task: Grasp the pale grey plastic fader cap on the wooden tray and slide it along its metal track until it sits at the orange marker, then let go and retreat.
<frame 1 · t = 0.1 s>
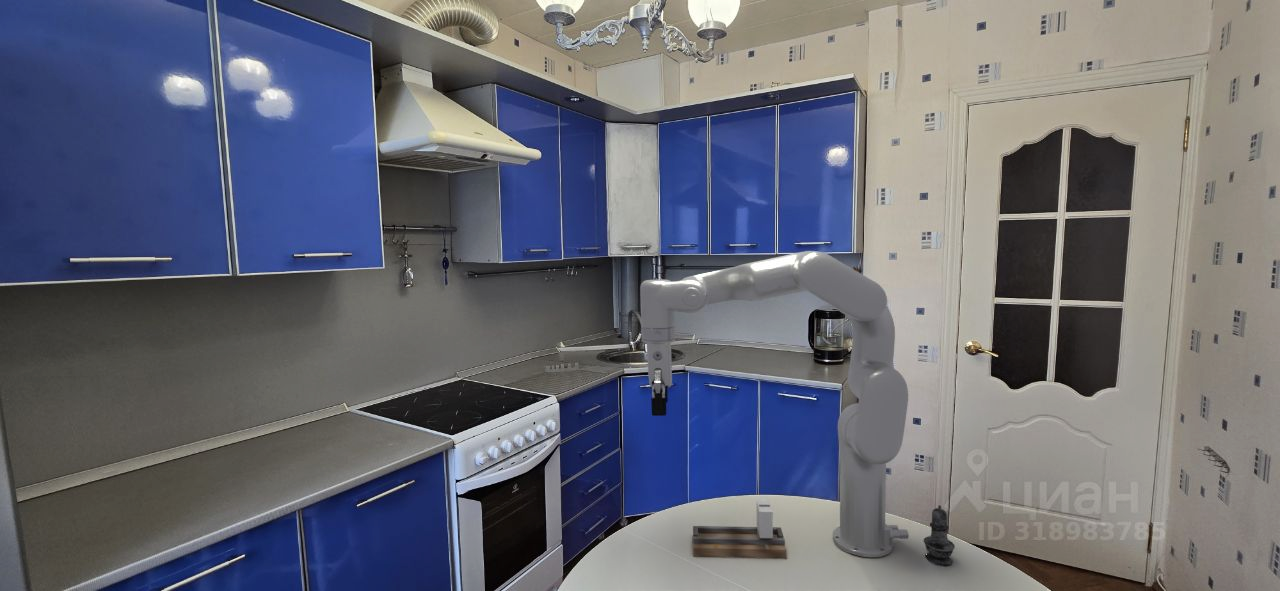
hand: (660, 408, 127), 31 cm above the table, fingers open, 9 cm apart
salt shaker: (938, 560, 118), on the table
wooden tray: (737, 546, 126), on the table
fader: (764, 521, 125), point 6 cm above the table, slide at 0.0 cm
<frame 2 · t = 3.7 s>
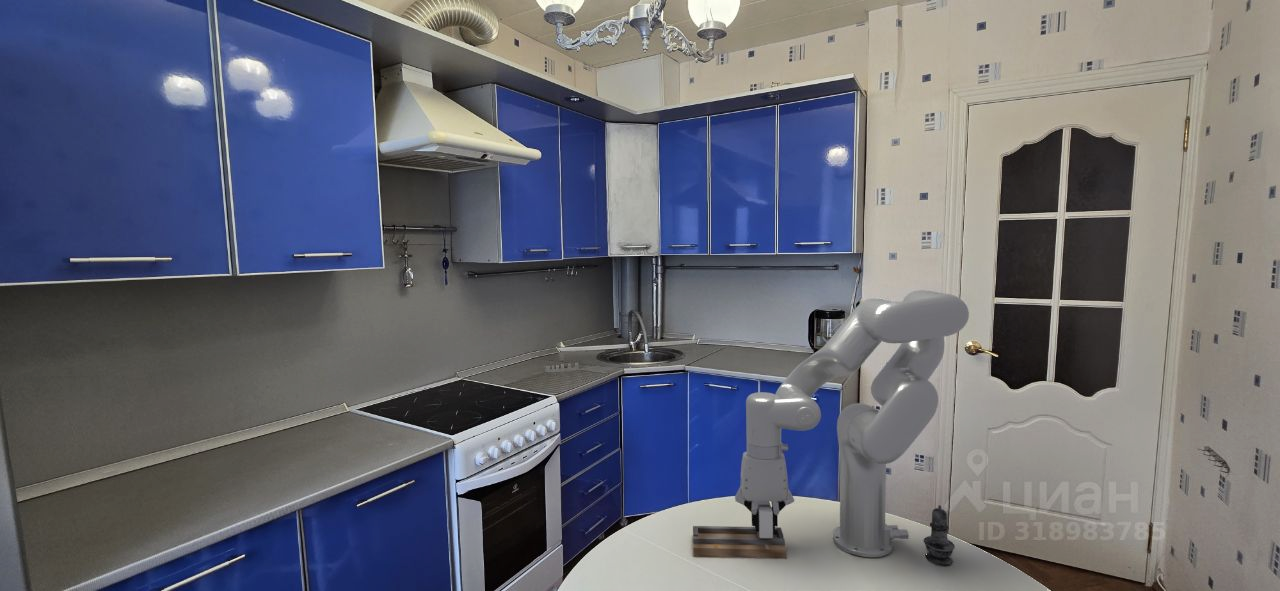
hand: (764, 528, 125), 4 cm above the table, fingers closed on fader, 2 cm apart
fader: (764, 521, 125), point 6 cm above the table, slide at 0.0 cm, touching gripper
everything else where it was.
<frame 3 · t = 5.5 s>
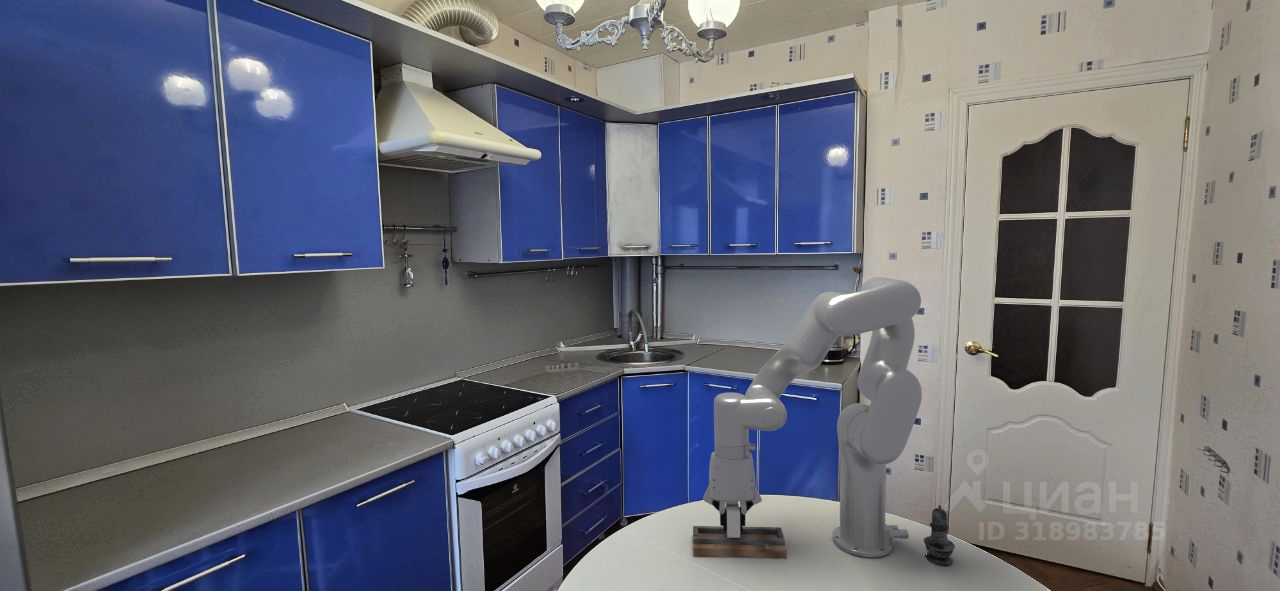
hand: (732, 527, 125), 4 cm above the table, fingers closed on fader, 2 cm apart
fader: (732, 520, 125), point 6 cm above the table, slide at 7.1 cm, touching gripper
everything else where it was.
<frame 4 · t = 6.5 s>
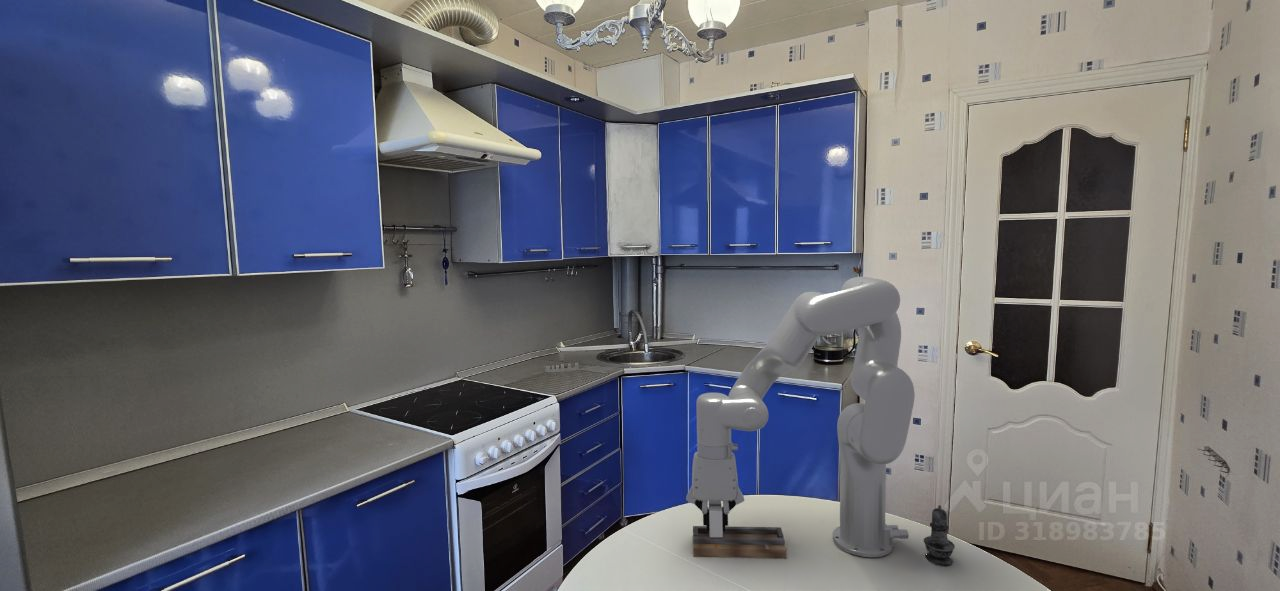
hand: (715, 527, 126), 4 cm above the table, fingers closed on fader, 2 cm apart
fader: (715, 520, 125), point 6 cm above the table, slide at 10.9 cm, touching gripper
everything else where it was.
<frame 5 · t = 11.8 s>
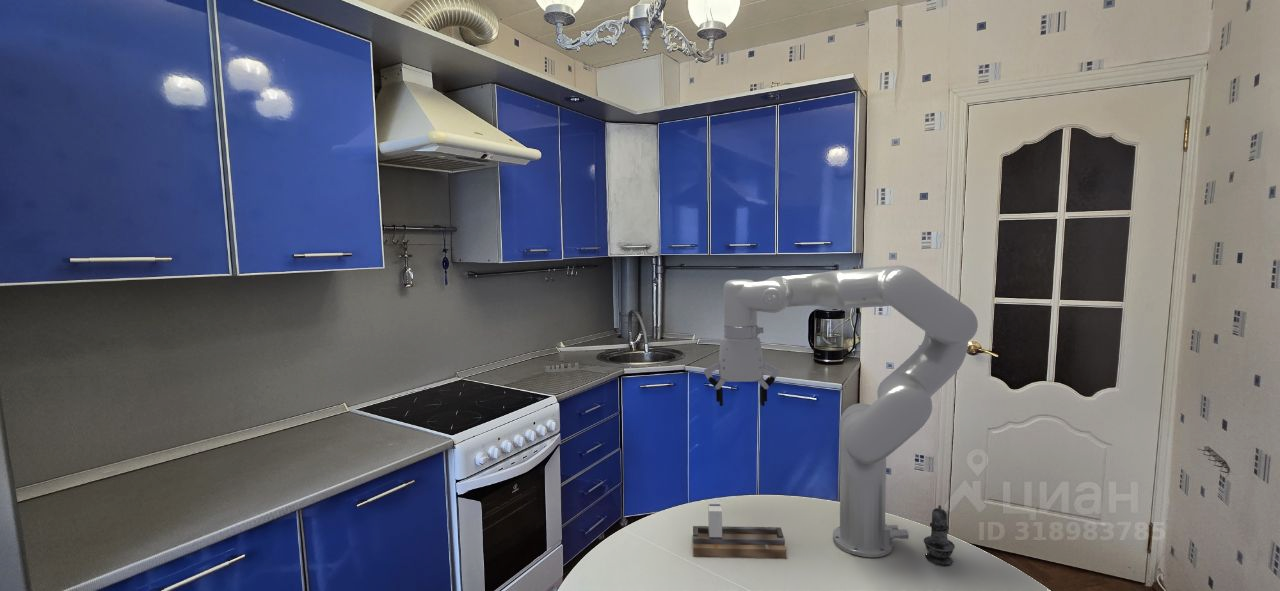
hand: (741, 404, 131), 30 cm above the table, fingers open, 9 cm apart
fader: (715, 520, 125), point 6 cm above the table, slide at 11.0 cm
everything else where it was.
at the end: fader slide at 11.0 cm; the gripper is holding nothing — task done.
